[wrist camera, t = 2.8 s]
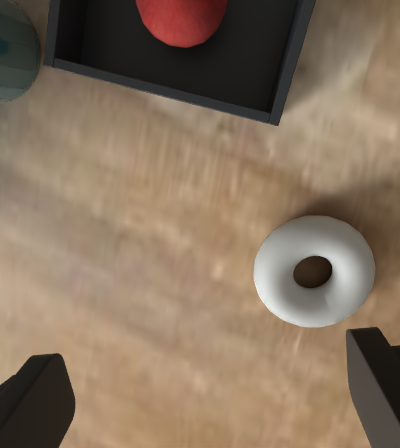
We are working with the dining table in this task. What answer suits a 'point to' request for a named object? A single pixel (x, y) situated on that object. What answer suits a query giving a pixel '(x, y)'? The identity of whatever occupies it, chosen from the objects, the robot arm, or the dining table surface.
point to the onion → (182, 19)
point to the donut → (305, 247)
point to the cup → (16, 51)
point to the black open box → (186, 53)
